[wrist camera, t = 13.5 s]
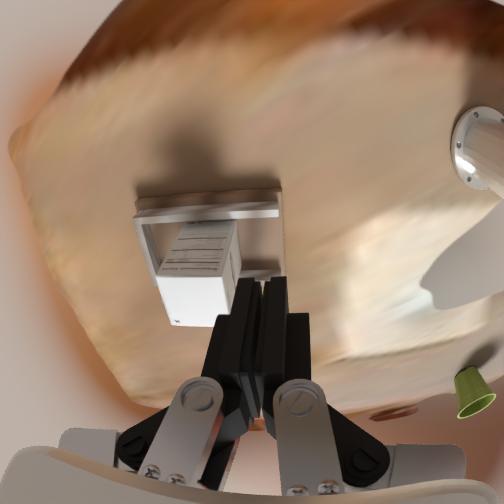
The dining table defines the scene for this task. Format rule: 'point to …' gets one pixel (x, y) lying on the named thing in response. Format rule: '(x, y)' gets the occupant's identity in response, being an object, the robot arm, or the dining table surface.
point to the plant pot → (472, 392)
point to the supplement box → (200, 272)
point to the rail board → (217, 208)
